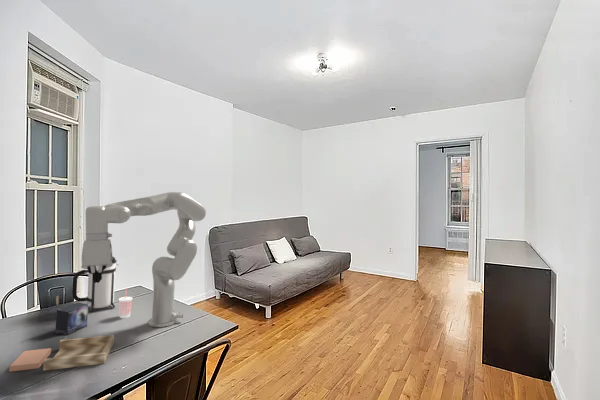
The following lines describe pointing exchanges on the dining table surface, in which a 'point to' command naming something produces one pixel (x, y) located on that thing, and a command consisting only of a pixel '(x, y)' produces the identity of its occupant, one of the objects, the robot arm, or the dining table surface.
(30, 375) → the dining table surface
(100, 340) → the wooden tray
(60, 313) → the small box
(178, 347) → the dining table surface
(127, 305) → the beverage cup
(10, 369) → the cover plate
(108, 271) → the coffee press
